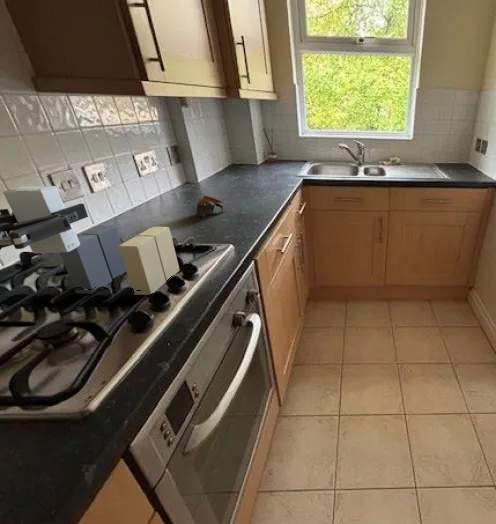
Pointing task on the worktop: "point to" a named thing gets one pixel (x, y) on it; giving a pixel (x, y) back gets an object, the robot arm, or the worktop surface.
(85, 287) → the grey books
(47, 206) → the cosmetic box
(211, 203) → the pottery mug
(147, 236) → the cream boxes
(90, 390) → the worktop surface
